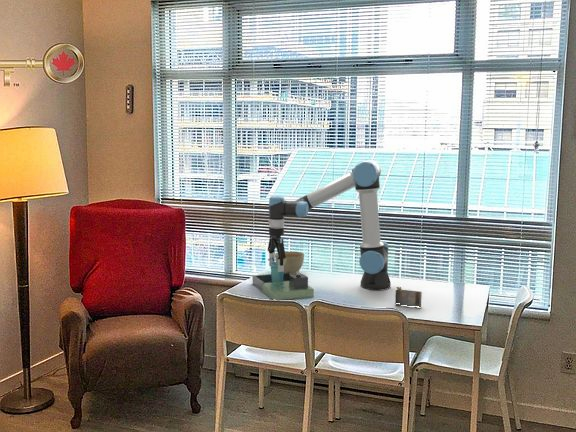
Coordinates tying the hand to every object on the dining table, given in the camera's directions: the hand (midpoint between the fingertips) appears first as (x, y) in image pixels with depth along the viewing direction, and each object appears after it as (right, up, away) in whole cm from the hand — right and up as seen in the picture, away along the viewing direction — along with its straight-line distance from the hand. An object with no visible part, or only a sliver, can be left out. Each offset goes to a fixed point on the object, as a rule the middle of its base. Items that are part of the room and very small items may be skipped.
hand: (276, 268), depth 326 cm
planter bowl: (+7, -5, +29) cm, 30 cm away
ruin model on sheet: (+60, -15, -33) cm, 70 cm away
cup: (0, -8, +1) cm, 8 cm away
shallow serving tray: (+3, -10, -7) cm, 12 cm away
